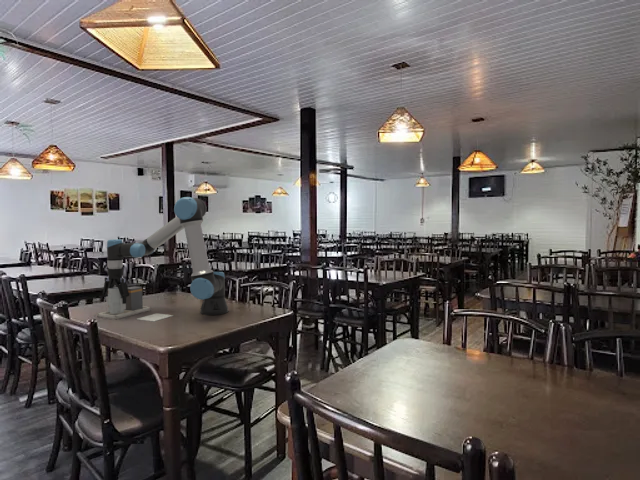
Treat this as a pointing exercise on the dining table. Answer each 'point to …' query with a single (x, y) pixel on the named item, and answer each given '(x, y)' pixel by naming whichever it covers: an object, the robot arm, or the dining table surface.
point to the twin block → (134, 299)
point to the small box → (114, 301)
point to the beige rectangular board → (124, 314)
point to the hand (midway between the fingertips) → (116, 308)
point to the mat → (154, 317)
